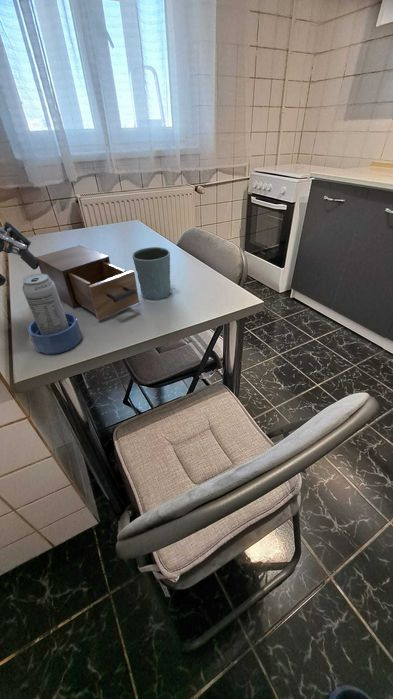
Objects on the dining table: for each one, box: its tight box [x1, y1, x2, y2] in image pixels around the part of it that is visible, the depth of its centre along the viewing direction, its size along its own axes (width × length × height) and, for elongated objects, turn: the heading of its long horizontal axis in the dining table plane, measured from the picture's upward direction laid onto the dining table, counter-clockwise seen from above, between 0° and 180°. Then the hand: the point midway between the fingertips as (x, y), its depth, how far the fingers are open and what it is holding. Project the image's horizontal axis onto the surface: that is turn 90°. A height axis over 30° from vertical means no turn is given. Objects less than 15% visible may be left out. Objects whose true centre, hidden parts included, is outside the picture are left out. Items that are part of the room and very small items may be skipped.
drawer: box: [66, 261, 140, 321], centre depth 77 cm, size 19×13×9 cm
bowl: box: [27, 311, 83, 355], centre depth 66 cm, size 10×10×5 cm
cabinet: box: [35, 244, 111, 309], centre depth 86 cm, size 16×14×11 cm
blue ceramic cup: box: [131, 246, 172, 301], centre depth 83 cm, size 10×10×12 cm
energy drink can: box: [22, 273, 69, 335], centre depth 63 cm, size 6×6×15 cm
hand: (21, 274), depth 59 cm, fingers open, 8 cm apart
